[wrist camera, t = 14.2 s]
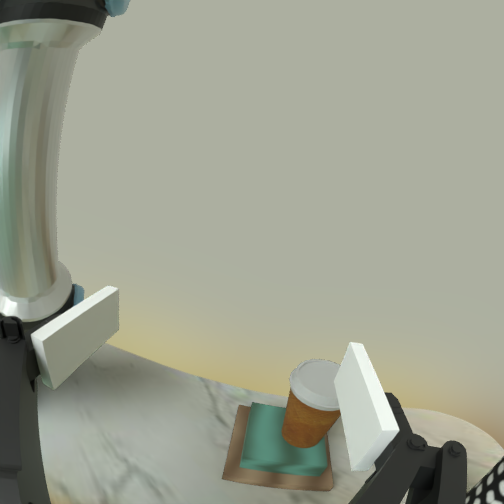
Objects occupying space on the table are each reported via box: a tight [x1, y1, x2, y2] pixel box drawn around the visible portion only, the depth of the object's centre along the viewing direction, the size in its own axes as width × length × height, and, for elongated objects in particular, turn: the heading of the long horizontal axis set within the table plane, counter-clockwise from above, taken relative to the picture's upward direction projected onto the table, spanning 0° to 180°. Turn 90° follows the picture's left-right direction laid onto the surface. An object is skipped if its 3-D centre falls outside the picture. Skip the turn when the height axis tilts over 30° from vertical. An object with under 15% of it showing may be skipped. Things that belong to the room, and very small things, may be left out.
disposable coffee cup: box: [281, 359, 341, 448], centre depth 35 cm, size 10×10×12 cm
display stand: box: [222, 402, 333, 491], centre depth 36 cm, size 16×16×5 cm
